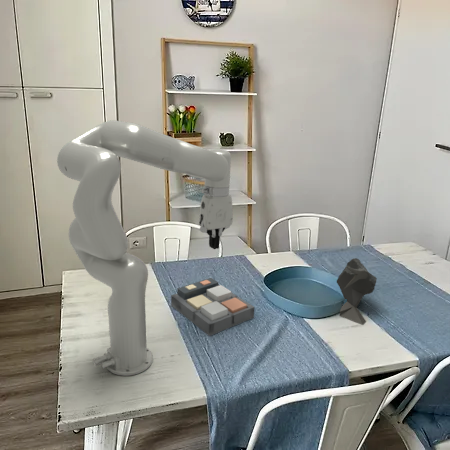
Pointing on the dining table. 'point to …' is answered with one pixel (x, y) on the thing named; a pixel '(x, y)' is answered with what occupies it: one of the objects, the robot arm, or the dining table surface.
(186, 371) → the dining table surface
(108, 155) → the robot arm
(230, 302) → the key terracotta
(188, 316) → the keypad
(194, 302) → the key sand
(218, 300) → the key grey back
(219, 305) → the key grey front
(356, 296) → the dark faceted sculpture
